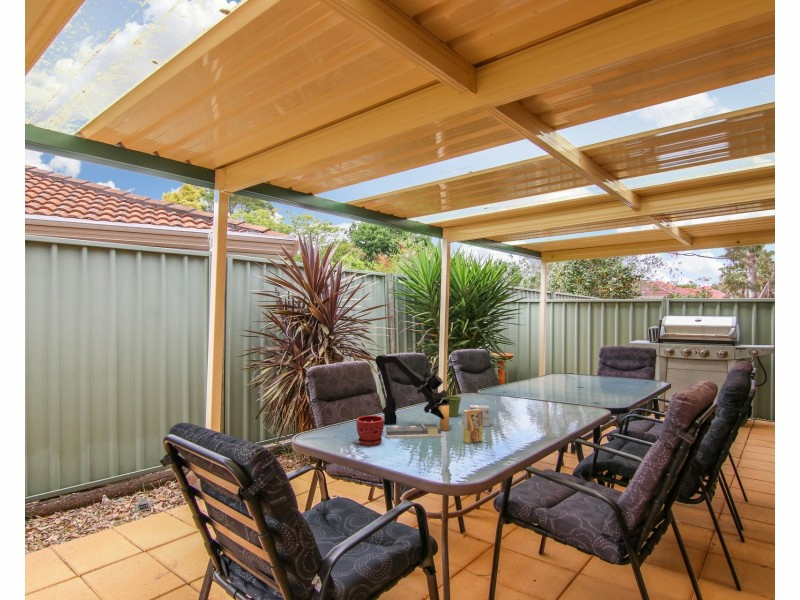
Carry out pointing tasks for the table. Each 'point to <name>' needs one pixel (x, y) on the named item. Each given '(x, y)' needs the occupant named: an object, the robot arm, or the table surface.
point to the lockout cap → (444, 422)
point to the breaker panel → (414, 431)
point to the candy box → (472, 425)
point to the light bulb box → (483, 413)
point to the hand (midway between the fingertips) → (446, 417)
